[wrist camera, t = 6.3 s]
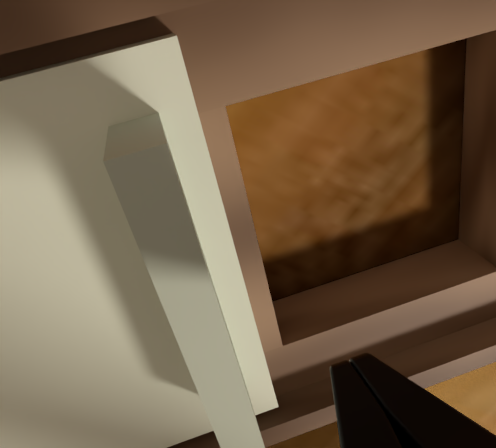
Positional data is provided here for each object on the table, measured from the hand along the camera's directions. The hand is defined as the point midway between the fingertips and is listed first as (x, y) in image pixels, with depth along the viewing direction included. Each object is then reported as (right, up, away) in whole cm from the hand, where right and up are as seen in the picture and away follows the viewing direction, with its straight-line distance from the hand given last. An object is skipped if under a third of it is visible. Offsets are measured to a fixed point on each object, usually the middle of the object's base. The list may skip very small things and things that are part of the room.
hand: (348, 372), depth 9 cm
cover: (-7, +1, +4) cm, 8 cm away
